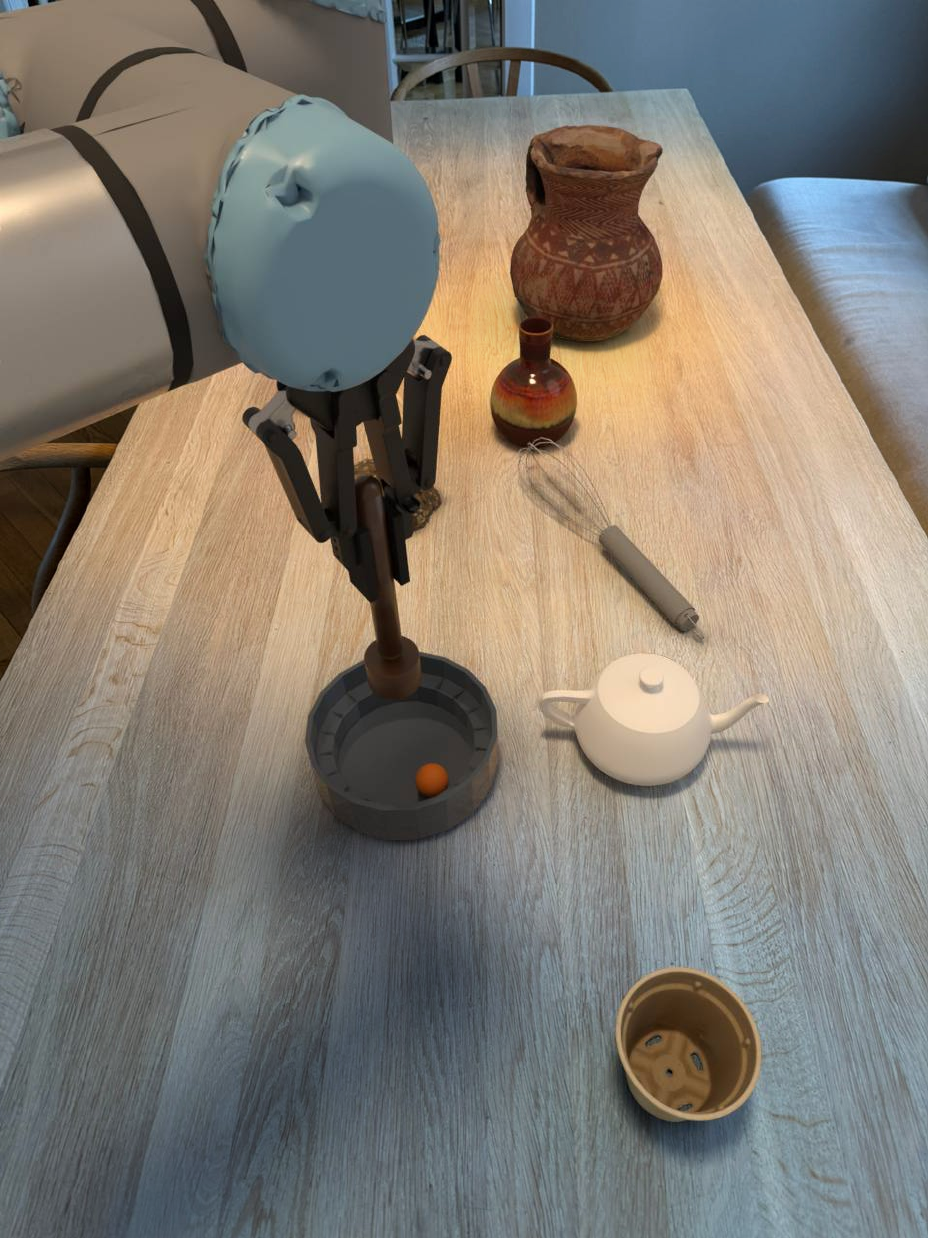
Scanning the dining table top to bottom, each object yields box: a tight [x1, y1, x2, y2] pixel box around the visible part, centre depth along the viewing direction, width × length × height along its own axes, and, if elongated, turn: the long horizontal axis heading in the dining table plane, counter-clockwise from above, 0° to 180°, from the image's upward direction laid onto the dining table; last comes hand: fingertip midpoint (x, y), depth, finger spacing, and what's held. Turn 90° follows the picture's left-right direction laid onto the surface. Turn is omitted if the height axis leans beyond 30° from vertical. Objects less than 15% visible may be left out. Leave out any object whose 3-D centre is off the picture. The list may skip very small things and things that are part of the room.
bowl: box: [304, 651, 499, 841], centre depth 81 cm, size 17×17×6 cm
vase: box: [489, 316, 578, 450], centre depth 111 cm, size 11×11×15 cm
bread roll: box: [354, 457, 442, 531], centre depth 106 cm, size 13×12×5 cm
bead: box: [415, 763, 449, 797], centre depth 79 cm, size 3×3×3 cm
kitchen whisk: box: [517, 438, 705, 640], centre depth 99 cm, size 6×34×6 cm, turn 30°
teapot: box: [539, 652, 770, 787], centre depth 80 cm, size 20×12×10 cm, turn 85°
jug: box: [509, 124, 664, 342], centre depth 125 cm, size 22×21×25 cm
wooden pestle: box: [355, 475, 422, 700], centre depth 64 cm, size 4×4×21 cm
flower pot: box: [615, 966, 763, 1123], centre depth 61 cm, size 9×9×9 cm
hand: (380, 581), depth 64 cm, fingers closed on wooden pestle, 2 cm apart
